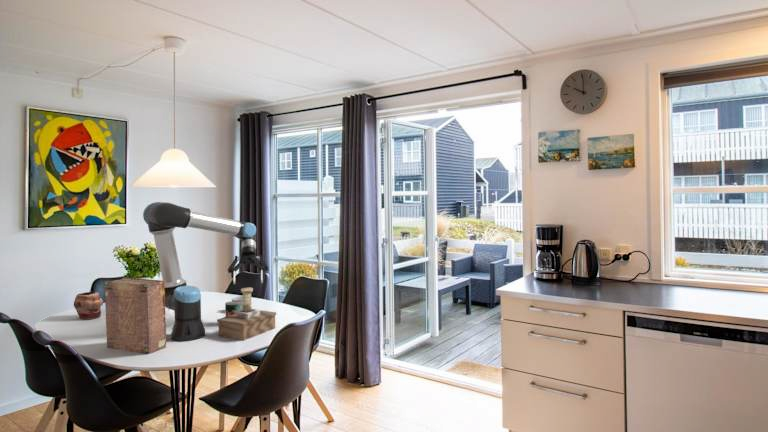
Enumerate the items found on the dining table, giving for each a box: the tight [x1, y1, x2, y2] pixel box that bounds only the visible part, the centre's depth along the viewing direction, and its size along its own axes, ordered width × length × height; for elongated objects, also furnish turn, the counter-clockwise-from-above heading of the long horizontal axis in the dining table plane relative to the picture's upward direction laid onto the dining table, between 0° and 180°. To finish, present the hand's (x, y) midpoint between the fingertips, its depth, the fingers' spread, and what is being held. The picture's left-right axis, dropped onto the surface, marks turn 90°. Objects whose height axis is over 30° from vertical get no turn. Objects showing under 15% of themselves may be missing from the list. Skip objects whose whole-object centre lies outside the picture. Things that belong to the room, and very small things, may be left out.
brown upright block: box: [104, 277, 167, 355], centre depth 206 cm, size 25×9×30 cm, turn 69°
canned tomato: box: [224, 300, 241, 317], centre depth 244 cm, size 8×8×11 cm
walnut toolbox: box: [216, 308, 277, 341], centre depth 229 cm, size 23×17×10 cm
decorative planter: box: [73, 291, 104, 320], centre depth 257 cm, size 20×12×14 cm, turn 72°
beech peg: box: [240, 287, 254, 313], centre depth 228 cm, size 6×6×14 cm
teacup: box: [231, 294, 243, 310], centre depth 272 cm, size 14×11×8 cm
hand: (248, 282), depth 238 cm, fingers open, 13 cm apart
